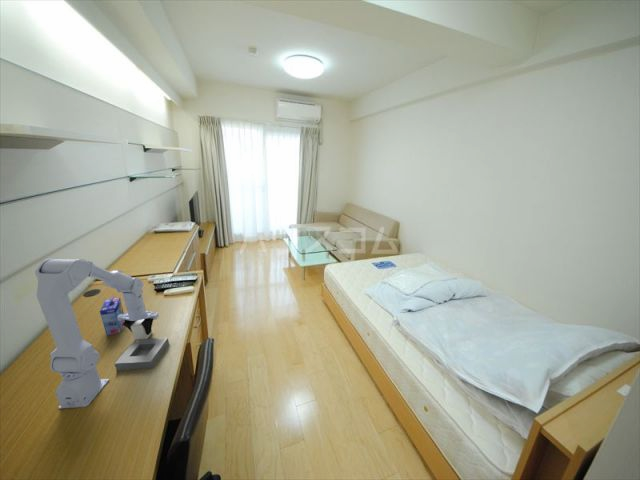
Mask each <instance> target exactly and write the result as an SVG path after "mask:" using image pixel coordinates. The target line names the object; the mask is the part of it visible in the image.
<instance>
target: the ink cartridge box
mask: <svg viewBox="0 0 640 480" xmlns="http://www.w3.org/2000/svg"><path fill="white" fill-rule="evenodd" d="M99 314H100V318H101V321H102V324H103V327H104V332H105V336H109V335H115V334H119V333H122V332H123V328H124V326H123V323H124V322H125V320H121V321H118V319H117V317H118V316H119V315H120V314H125V313H124V308H123V304H122V301H121V297H115V296H112V298H108V299H105V300H104V302H103V304H102V307H101V308H100V310H99Z"/></svg>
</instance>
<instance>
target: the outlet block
mask: <svg viewBox="0 0 640 480" xmlns="http://www.w3.org/2000/svg"><path fill="white" fill-rule="evenodd" d="M169 345H170V342H169V338H168V337H157V338H148V339H136V340H135V341H133V342H132V343H131V344H130V345H129V346H128V348H127V349H126V350H125V351H124V352H123V353H122V354H121V356H120V357H119V358H118V359H117V360H116V361H115V362H114V367H115V369H116V371H122V370H123V371H124V370H126V371H127V370H142V369H145V370H146V369H153V368H154V366H156V364H157V362H159V360H160V358H161V356H162V355H163V354H164V352H165V351H166V349H167V348H168V346H169Z"/></svg>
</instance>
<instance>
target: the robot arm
mask: <svg viewBox="0 0 640 480" xmlns="http://www.w3.org/2000/svg"><path fill="white" fill-rule="evenodd" d="M34 274H35V276H36V279H37V281H38V282H37V288H36V299H37V300H38V303H39V306H40V309H41V312H42V314H43V316H44V319H45V321H46V323H47V324H46V325H47V327H48V329H49V333H50V334H51V335H50V336H51V337H52V339H53V342H54V345H55V349H54V350H53V351H51V352H50V354H49V357H50V363H49V368H50V370H51V372H54V373H59V376H61V377H62V378H61V381H60V384H59V385H58V386H57V388H55V391H54V394H55V396H56V398H57V401H58V403H59V405H58V409H72V408H73V409H74V408H86V407H87V406H89V405H90V404H91V403H92V402H93V400H94V399H95V398H96V396H97V395H98V394H99V393H100V391H102V389H103V388H105V386H106V385H107V383H108V382H109V378H101V377H100V374H99V372H98V368H97V365H98V363H99V360H100V353H99V352H98V351H97V350H96V349H95V348H94V345H93V344H91V343H89V342H88V341H86V340H84V339H83V335H82V333H81V330H80V327H79V324H78V321H77V318H76V315H75V311H74V308H73V306H72V303H71V300H70V297H69V294H70V292H72V291H75V289H77V287H78V286H80V285H81V284H82V283H83V282H84V281H85V280H86V279H87V278H88V277H89V278H92V279H93V278H94V279H96V280H99V281H102V283H103V285H104V286H106V287H110V288H111V289H115V290H116V291H117V292H118V293H122V297H123V302H124V304H125V307H126V311H127V312H126V313H124V314H120V315H119V316H118V317H117V319H118V321H121V320H125V322H124V323H123V327H125V328H127V329H128V330H129V331H130V332H131V333H132V330H131V326H132V325H133V323H134V322H135V321H137V320H142V319H144V321H143V322H142V323H141V324H142V325H143V327H144V328H145V331H146V334H147V335H149V334H150V333H151V330H152V326H153V323H154V322H153V321H154V320H157V319H158V318H159V312H153V311H148V310H147V309H146V305H145V302H144V297H143V291H144V290H143V288H144V281H143V280H141V279H140V278H139V277H132V276H131V274H125V273H123V271H122V270H120V269H115V270H110V271H109V270H107V269H106V268H103V267H101V266H99V265H97V264H94V262H93V261H89V260H86V259H84V258H77V259H74V258H72V259H71V258H54V257H51V258H47V259H44V260H43V261H42V262H41V263H40V264H39V266H38V267H36V270H34Z"/></svg>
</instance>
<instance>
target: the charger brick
mask: <svg viewBox="0 0 640 480" xmlns="http://www.w3.org/2000/svg"><path fill="white" fill-rule="evenodd" d="M143 321H144V319H142V320H137V321H135V322H134V323H133V325H132V326H131V330H132V332H131V333H132V336H133V337H132V338H133V340H134V341H135V340H136V339H149V337H150V336H151V335H152V334H153V330H152V329H151V333H150V334H149V335H147V334H146V331H145V328H144V327H143V325H142V324H141V323H142V322H143ZM134 341H133V342H134Z"/></svg>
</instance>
